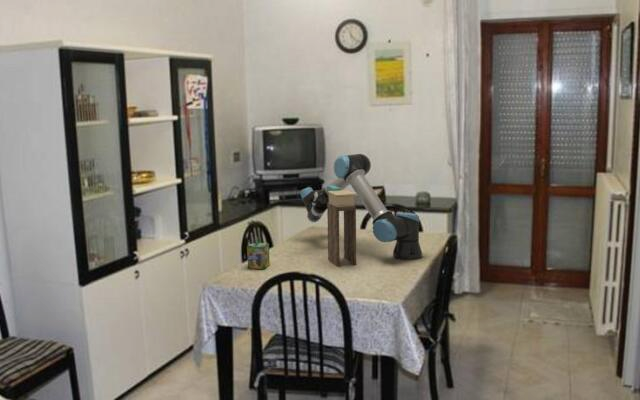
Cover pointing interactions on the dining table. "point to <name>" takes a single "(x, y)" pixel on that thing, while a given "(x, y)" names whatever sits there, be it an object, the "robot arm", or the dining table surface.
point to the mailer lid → (338, 191)
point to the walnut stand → (348, 233)
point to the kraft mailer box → (341, 200)
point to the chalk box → (258, 255)
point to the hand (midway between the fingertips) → (329, 193)
